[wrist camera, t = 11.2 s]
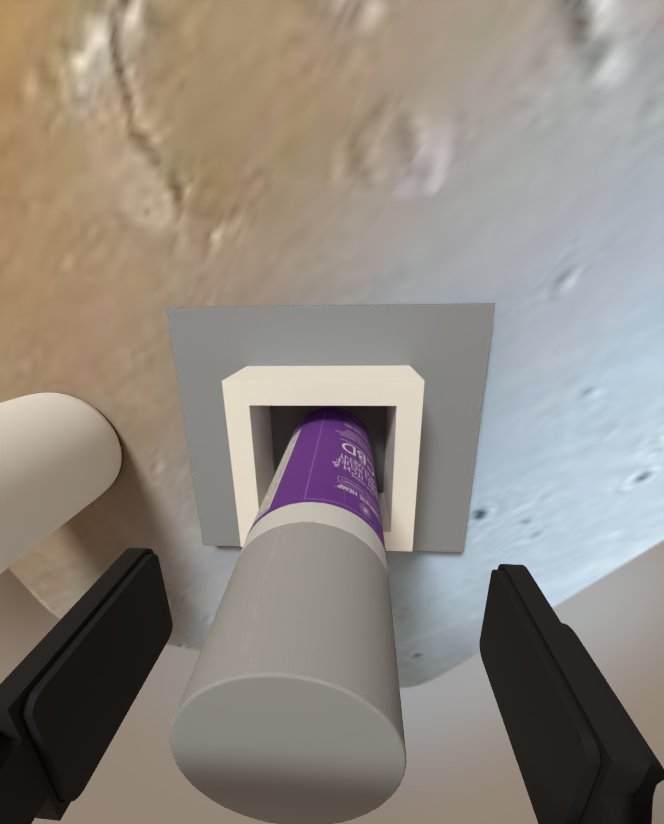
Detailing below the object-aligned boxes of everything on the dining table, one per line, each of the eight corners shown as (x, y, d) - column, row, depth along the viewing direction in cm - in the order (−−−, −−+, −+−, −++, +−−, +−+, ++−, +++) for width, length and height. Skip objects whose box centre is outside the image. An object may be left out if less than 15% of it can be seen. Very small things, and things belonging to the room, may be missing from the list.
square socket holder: (486, 303, 19) (534, 302, 14) (457, 540, 24) (486, 601, 19) (176, 307, 20) (119, 308, 15) (209, 534, 25) (174, 591, 20)
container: (381, 418, 20) (456, 714, 6) (356, 484, 21) (364, 851, 7) (305, 394, 20) (183, 638, 5) (285, 462, 21) (147, 796, 7)
